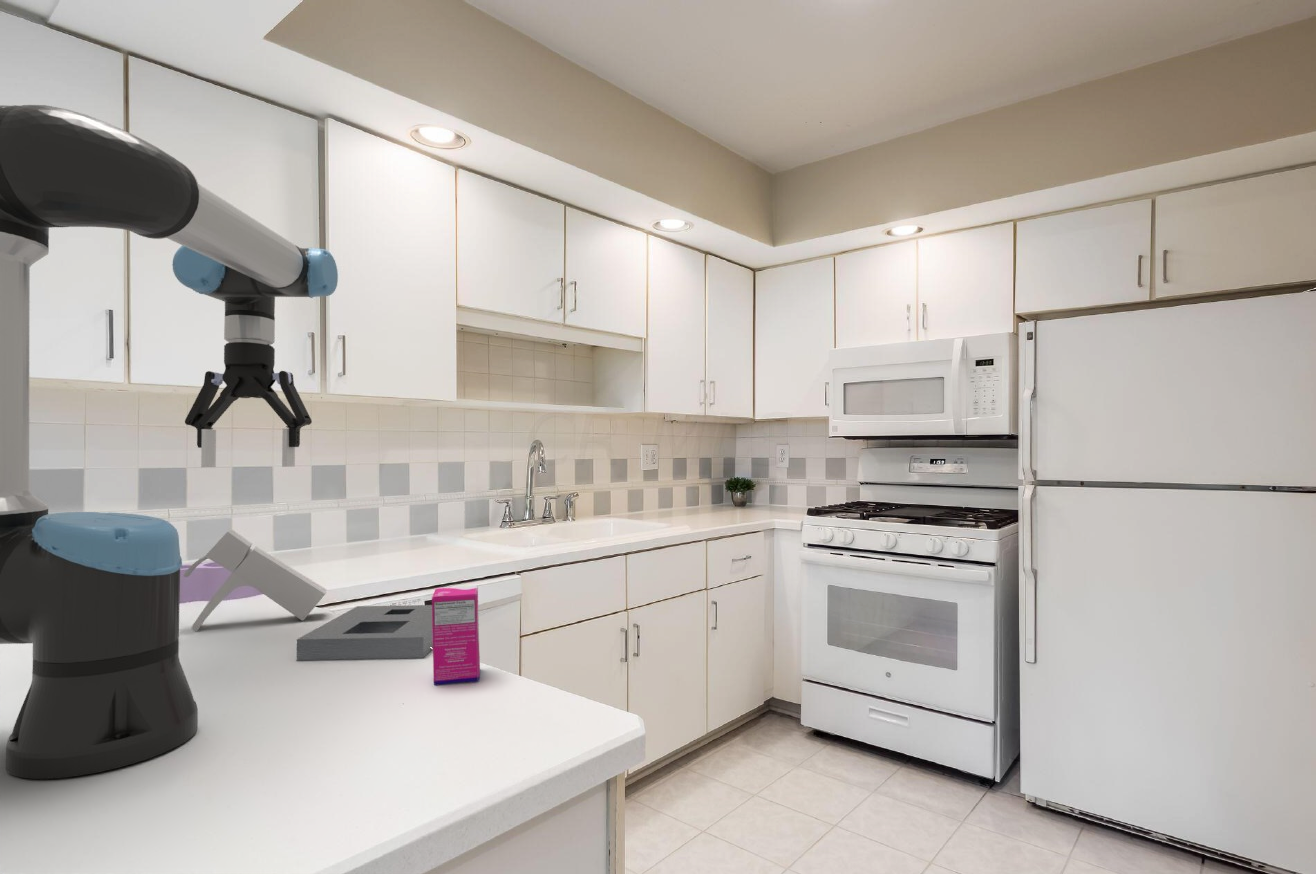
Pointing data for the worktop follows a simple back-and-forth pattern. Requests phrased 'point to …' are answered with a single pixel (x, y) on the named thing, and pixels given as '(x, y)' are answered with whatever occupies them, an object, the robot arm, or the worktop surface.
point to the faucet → (258, 577)
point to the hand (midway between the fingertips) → (248, 467)
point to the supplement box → (455, 635)
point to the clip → (209, 583)
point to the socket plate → (371, 634)
